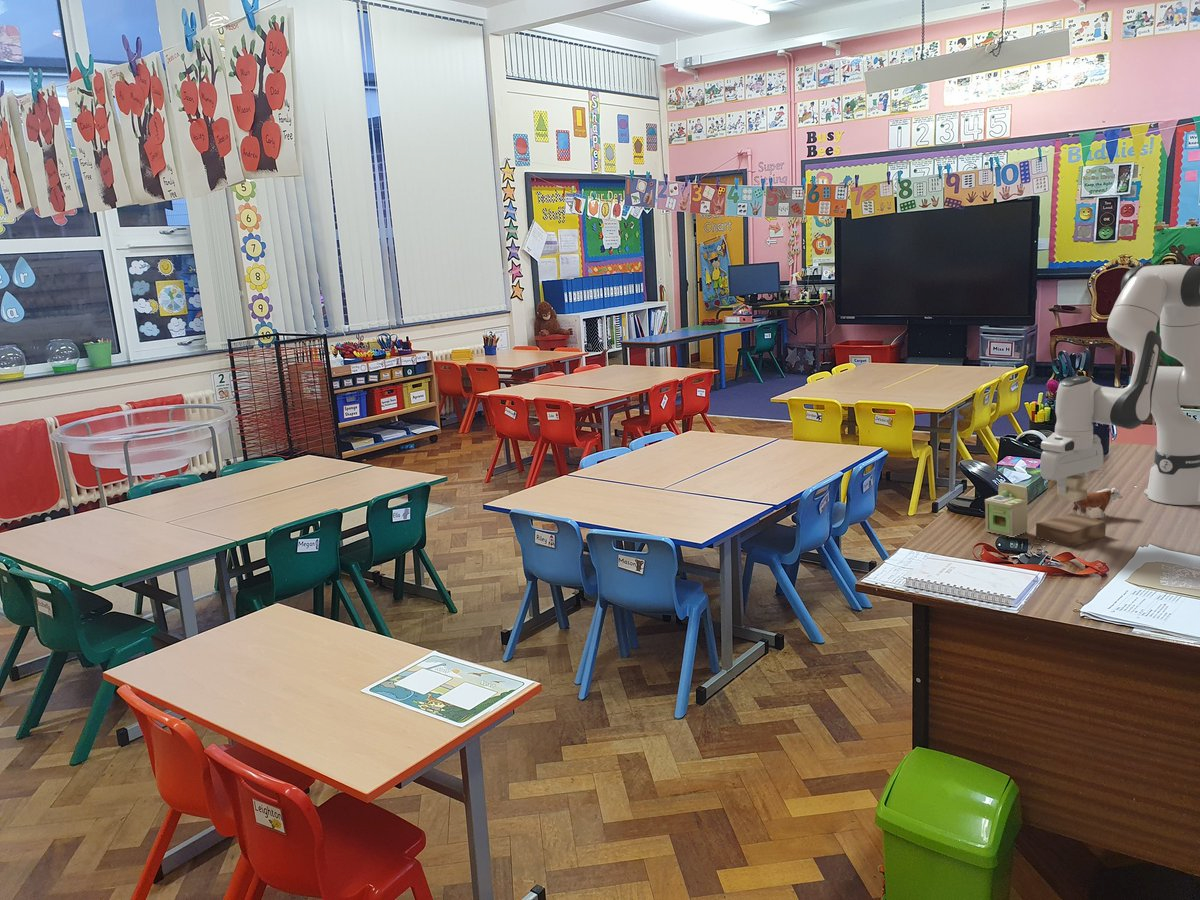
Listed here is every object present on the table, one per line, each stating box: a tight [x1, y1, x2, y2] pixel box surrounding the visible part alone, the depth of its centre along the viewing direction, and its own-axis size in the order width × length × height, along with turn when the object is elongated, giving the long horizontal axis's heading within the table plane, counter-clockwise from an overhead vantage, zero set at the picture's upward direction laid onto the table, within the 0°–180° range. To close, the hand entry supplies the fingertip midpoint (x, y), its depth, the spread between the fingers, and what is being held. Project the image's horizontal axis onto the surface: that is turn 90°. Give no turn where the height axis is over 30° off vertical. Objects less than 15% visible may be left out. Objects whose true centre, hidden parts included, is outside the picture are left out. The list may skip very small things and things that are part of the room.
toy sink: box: [984, 481, 1028, 536], centre depth 244 cm, size 8×7×13 cm
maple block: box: [1056, 474, 1089, 503], centre depth 235 cm, size 5×5×6 cm
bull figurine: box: [1072, 487, 1124, 518], centre depth 251 cm, size 4×13×8 cm, turn 89°
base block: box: [1035, 513, 1107, 548], centre depth 237 cm, size 14×10×4 cm
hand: (1071, 490), depth 235 cm, fingers closed on maple block, 5 cm apart
